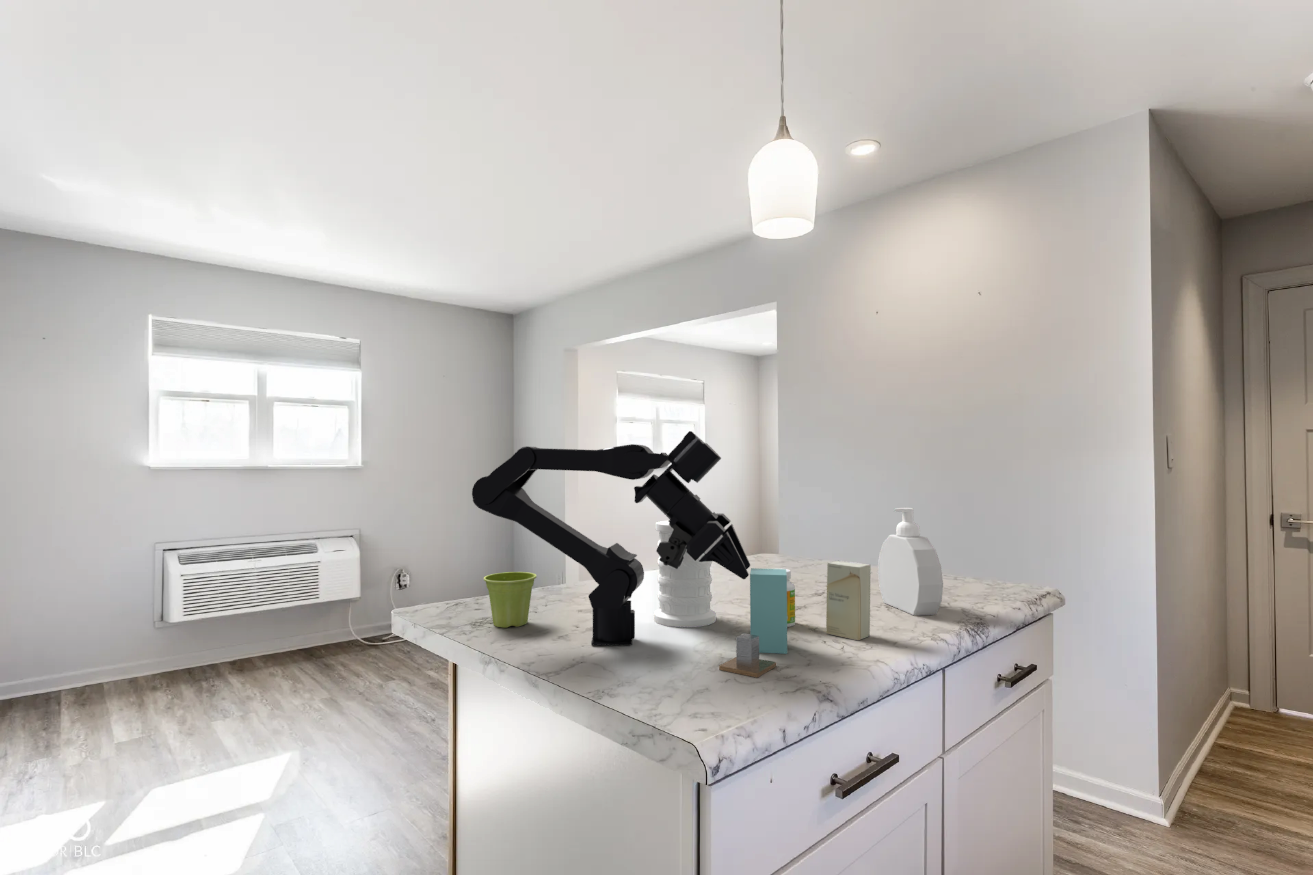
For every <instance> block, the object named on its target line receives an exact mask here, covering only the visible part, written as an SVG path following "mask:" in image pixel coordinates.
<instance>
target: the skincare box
mask: <svg viewBox="0 0 1313 875" xmlns="http://www.w3.org/2000/svg"><path fill="white" fill-rule="evenodd" d="M826 566H827V570H826V618H825V619H826V620H825V622H826V625H825V627H826V628H825V629H826V630H825V633H826V635H827V634H828V635H832V636H837V637H841V638H845V639H848V640H849V639H850V640H853V641H854V640H855V641H860V640H863V639H866V638H867V637H870V636H871V635H870V634H871V633H870V632H871V570H872V569H871V564H868V563H861V562H854V561H853V562H852V561H846V560H834V561H829V562H827V563H826Z"/></svg>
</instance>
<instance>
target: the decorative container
mask: <svg viewBox="0 0 1313 875" xmlns="http://www.w3.org/2000/svg"><path fill="white" fill-rule="evenodd" d="M668 521H669V520H661V521H657V522H655V531H657V532H658V533H659V536H658V540H657V543H656V544H657V547H658V546H659V544H660V543H661V542H668V540H669V537H670V536H671V534H672V532H673V530H674V529H673V528H672V527H671V526H670V525H669V522H668ZM658 555H659V554H658ZM704 555H705V554H704V553H703V554H702V555H701V556H700V557H699V558H698V559H697V560H696V561H695V560H694V559H693V558H692V557H691V556H690V555H689V554H688V553H687V549H686V551H685V553H684V556H683V557H684V559H683V561H682V563H681V565H680V566H679V567H678V569H676V568H673V567H671V566H669V565H664V564H663V562H661V561H660V558H661V557H660V555H659V556H658V558H657V561H656V562H657V565H658V567H659V574H658V575H657V584H659V586H658V589H659V591H658V592H657V593H658V594H657V600H658V602H659V603H658V604H659V606H658V609H656V610H655V611H654V612H653V620H654V622H655V623H656V624H659V625H661V626H666V627H673V628H698V627H700V628H701V627H705V626H709V625H712V624H714V623H715V622H716V621H717V612H716V611H715V610H713V609H712V608H711V602H712V599H713V594H712V592H711V584H712V581H713V577H712V574H711V567H712V563H713V561H705V562H699V560H700V559H701V558H702V557H703V556H704Z"/></svg>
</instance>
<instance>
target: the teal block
mask: <svg viewBox="0 0 1313 875" xmlns="http://www.w3.org/2000/svg"><path fill="white" fill-rule="evenodd" d="M786 569H787V568H780V569H776V568H756V567H755V568H754V567H753V568H750V572H749V603H750V604H749V606H750V608H749V611H750V612H749V614H750V618H749V619H750V620H749V621H750V624H749V625H750V633H749V634H751V635H757V636H759V654H761V653H762V654H781V655H782V654H785V655H787V654H788V627H787V574H786Z"/></svg>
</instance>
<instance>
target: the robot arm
mask: <svg viewBox="0 0 1313 875" xmlns="http://www.w3.org/2000/svg"><path fill="white" fill-rule="evenodd" d="M721 459H722V457H721V456H720V455H719V454H718V453H717V451H715V449H713V447H712V446H711V445H709V444H708V443H706V442H704V440H702V439H701V438H700V437H699V436H698V435H696V434H695V433H694V432H693V431H688V432H687V433H686V434H685V435H684V436H683V438H682V439H681V441H680V442H679V443H678V444H677V445H676V446H675V447H674V448H673V449H672V450H671V452H670V453H667V452H660V453H658V452H657V453H655V452H654V451H653V450H652V449H651V448H650V447H648V446H646V445H643V444H637V443H636V444H635V443H633V444H624V445H619V446H618V445H617V446H613V447H606V448H600V449H575V448H573V449H572V448H540V447H537V446H522V447H520V448H519V449H518V450H517V451H516V452H515V453H514V454H513V455H512V456H511V457H510V458H508V459H507V460H505V461H504V462H502V463H501V465H500V464H499V466H498V467H496V468H495V469H493V471H492V472H491V473H490V474H489V475H487V476H483V477H480V478H479V479H477V480H476V482H474V485H473V486H472V490H471V497H472V502H473V504H474V506H476V508H478V509H480V510H482V511H485V512H487V513H489V514H491V515H494V516H497V517H500V518H503V519H506V520H509V521H512V522H515V523H518V524H519V525H520V526H522V527H524V528H525V529H526V530H528V531H529V532H531V533H532V534H534V535H536V536H537V537H538V538H540V539H541V540H543V541H544V542H546V543H548V544H549V545H550V546H552V547H553V548H555V549H557V550H559V551H560V552H561V553H563V554H564V555H566V556H567V557H569V558H570V559H572V560H573V561H575V562H576V563H578V564H580V565H581V566H583V567H584V569H585V570H586V571H587V573H588V574H589V575H590V577H591V578H592V579H593V581H594V582H595V583H596V584H597V586H596V587H595V588H594V589H593V590H592V591H591V592H589V594H588V599H589V603H590V606H591V608H592V638H591V641H590V644H591V646H631V645H632V643H633V640H634V639H635V638H636V634H635V633H636V629H635V628H636V627H635V626H636V624H635V623H636V622H635V621H636V618H635V614H636V611H635V609H632V600H629V599H631V598H632V596H633V593H634V592H635V591H636V590H637V589H638V588H639V587H640V586H641V585H642V583H643V581H644V579H645V571H644V567H643V565H642V563H641V561H640V560H638V559H637V556H638V554H637V553H632V552H630V551H628V550H626V548H624V547H623V545H621V544H620V543H618V542H615V543H614V544H612V545H611V546H609V547H606V546H603V545H600V544H598V543H597V542H596V541H593V540H592V539H591V538H589V537H587V536H586V535H584V533H581V532H580V531H578V530H576V528H573V527H572V525H569V524H567V523H566V522H564V521H563V520H562V519H559V517H557V516H555V515H553V514H552V513H551V512H549V511H548V510H546V509H544V508H543V507H541V506H540V505H538V504H537V503H536V502H534V501H533V500H532V498H530V496H529V494H528V493H527V492H526V490H525V489H524V488H523V487H524V486H525V485H526V484H527V483H528V482H529V480H530V479H531V477H532V476H533V475H534V474H535V473H536V472H537V470H544V471H545V470H548V471H549V470H550V471H572V472H574V471H576V472H577V471H579V472H597V473H602V474H605V475H610V476H612V477H616V478H623V479H627V480H631V481H634V480H641V479H645V478H648V477H649V478H648V479H647V480H646V481H645V483H643V484H642V486H640V485H635V486H634V487H633V489H634V503H635V504H638V503H639V504H640V503H642V502H643V501H644V500H645V499H646V498H647V499H649V500H650V501H651V503H652V504H654V505H655V506H656V507H657V508H658V509H659V510H660V512H662V513H663V515H665V517H667V519H668V520H667V521H668V522H669V525H670V526H671V527H672V528H673V529H674V530H673V532H672V534H671V536H670V537H669V540H668V542H661V543H660V544H659V546H658V545H657V548H656V551H655V552H656V553H657V554H658V555H660V557H661V558H660V561H661V562H663V564H664V565H669V566H671V567H673V568H676V569H678V567H679V566H680V565H681V563H682V561H683V559H684V557H683V556H684V553H685V551H686V549H687V553H688V554H689V555H690V556H691V557H692V558H693V559H694V560H695V561H696V560H697V559H698V558H699V557H700V556H701V555H702V554H703V553H704V554H705V555H704V556H703V557H702V558H701V559H700V560H699V562H705V561H712V562H715V563H716V564H718V565H719V566H722V567H723V568H724V569H726V570H728V571H729V572H731V573H732V574H733V575H736V576H737V577H739V578H741V579H742V580H746V579H748V577H749V576H750V573H749V571H748V569H749V568H750V567H751V563H750V561H749V559H748V556H747V554H746V552H745V550H744V547H743V546H742V543H741V541H740V538H739V536H738V534H737V532H736V530H735V527H734V525H733V524H732V523H731V522H732V521H731V519H729V517H728V516H727V515H725V513H715V511H713V512H712V511H711V509H709V507H707V505H705V504H704V503H703V502H702V500H701V498H700V496H698V494H694V492H692V491H691V490H690V489H689V488H688V487H687V486H686V485H685V484H684V483H683V482H682V481H681V480H680V479H679V478H678V477H680V478H681V479H682V480H683V481H684V482H686V483H687V484H690V483H691V481H693V482H695V483H697V484H698V483H699V482H700V481H701V480H702V479H703V478H704V477H705V476H706V475H707V474H708V473H709V472H710V471H711V470H712V469H713V468H714V467H715V465H716V464H718V462H720V460H721ZM662 468H666V469H665V470H664V471H663V472H662V473H661V474H660V475H659V476H658V475H657V474H653V472H654V471H655V470H657V469H662ZM672 471H674V472H675V473H676V474H677V475H678V477H677V476H676V475H675V474H674V473H673V472H672ZM650 475H651V476H650ZM730 523H731V524H730ZM727 526H728V527H727ZM726 527H727V528H726Z"/></svg>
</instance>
